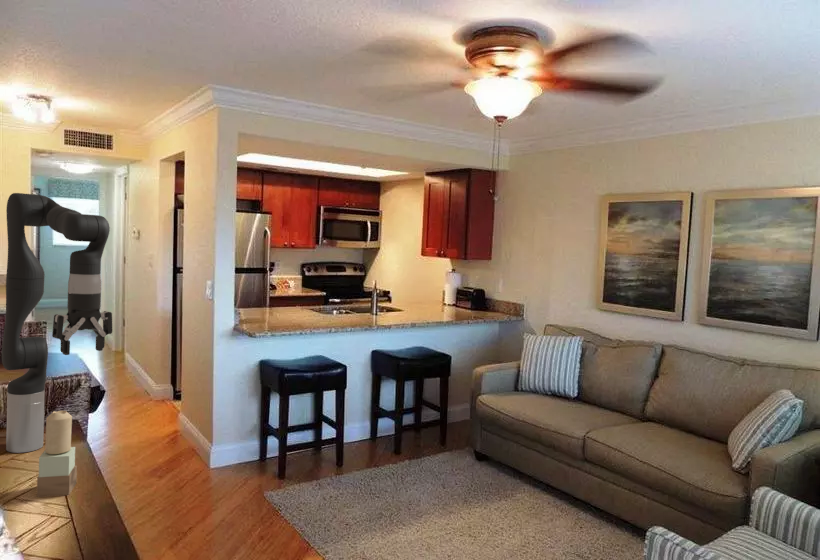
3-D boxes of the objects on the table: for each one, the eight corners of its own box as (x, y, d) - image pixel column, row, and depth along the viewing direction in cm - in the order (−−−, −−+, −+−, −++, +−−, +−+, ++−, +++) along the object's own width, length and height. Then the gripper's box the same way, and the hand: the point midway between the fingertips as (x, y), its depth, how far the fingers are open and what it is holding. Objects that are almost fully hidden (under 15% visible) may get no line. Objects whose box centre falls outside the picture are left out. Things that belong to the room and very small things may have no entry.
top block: (46, 467, 147) (46, 448, 146) (74, 465, 149) (75, 446, 148) (38, 477, 140) (39, 457, 140) (68, 475, 143) (69, 456, 142)
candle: (60, 455, 141) (61, 414, 141) (39, 453, 142) (41, 413, 142) (75, 448, 147) (77, 409, 147) (56, 447, 147) (57, 408, 148)
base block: (45, 485, 147) (46, 466, 147) (76, 483, 149) (76, 465, 149) (36, 497, 141) (37, 477, 140) (69, 495, 143) (69, 475, 142)
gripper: (103, 288, 157) (101, 347, 158) (48, 290, 145) (46, 353, 146) (119, 291, 153) (117, 351, 154) (63, 293, 141) (61, 358, 142)
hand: (82, 352), depth 150 cm, fingers open, 8 cm apart
